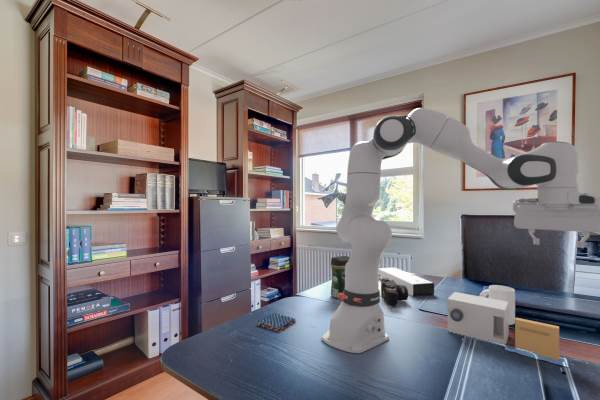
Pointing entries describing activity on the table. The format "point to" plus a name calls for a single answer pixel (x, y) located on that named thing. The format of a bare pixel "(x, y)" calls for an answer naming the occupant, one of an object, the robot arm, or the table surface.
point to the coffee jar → (338, 275)
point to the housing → (478, 317)
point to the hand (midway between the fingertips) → (557, 246)
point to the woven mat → (277, 322)
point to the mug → (503, 298)
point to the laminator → (408, 281)
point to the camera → (393, 292)
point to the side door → (537, 337)
